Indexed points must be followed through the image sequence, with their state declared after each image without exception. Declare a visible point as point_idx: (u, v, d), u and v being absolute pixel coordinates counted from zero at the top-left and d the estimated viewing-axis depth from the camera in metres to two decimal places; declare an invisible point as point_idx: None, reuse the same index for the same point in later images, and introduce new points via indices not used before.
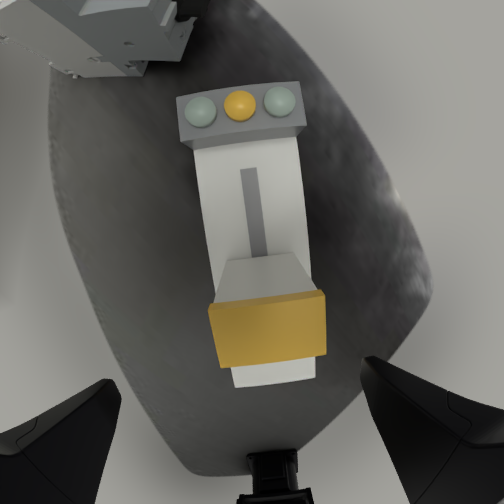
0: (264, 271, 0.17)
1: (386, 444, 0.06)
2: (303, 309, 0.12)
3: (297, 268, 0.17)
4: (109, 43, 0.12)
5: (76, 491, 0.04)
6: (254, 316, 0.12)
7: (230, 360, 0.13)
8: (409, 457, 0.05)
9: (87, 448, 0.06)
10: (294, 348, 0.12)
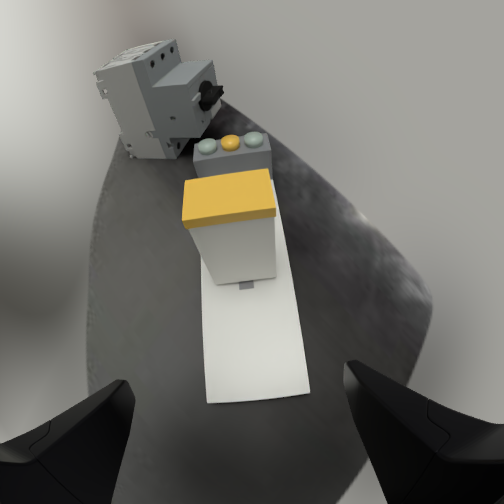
0: None
1: (367, 450, 0.06)
2: (252, 175, 0.16)
3: None
4: (161, 116, 0.28)
5: (91, 496, 0.04)
6: (216, 181, 0.16)
7: (191, 213, 0.15)
8: (388, 465, 0.05)
9: (102, 451, 0.06)
10: (246, 202, 0.15)
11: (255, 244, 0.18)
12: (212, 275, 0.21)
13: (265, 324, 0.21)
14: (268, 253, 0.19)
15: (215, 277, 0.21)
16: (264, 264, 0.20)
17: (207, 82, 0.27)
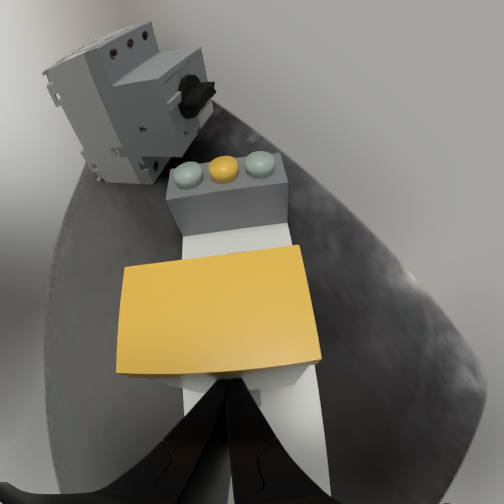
0: None
1: None
2: (265, 265, 0.07)
3: None
4: (128, 127, 0.20)
5: None
6: (186, 276, 0.07)
7: (134, 358, 0.06)
8: None
9: (218, 464, 0.06)
10: (252, 341, 0.06)
11: (268, 378, 0.09)
12: (196, 391, 0.12)
13: None
14: (288, 379, 0.10)
15: (201, 391, 0.12)
16: (278, 383, 0.11)
17: (192, 76, 0.19)
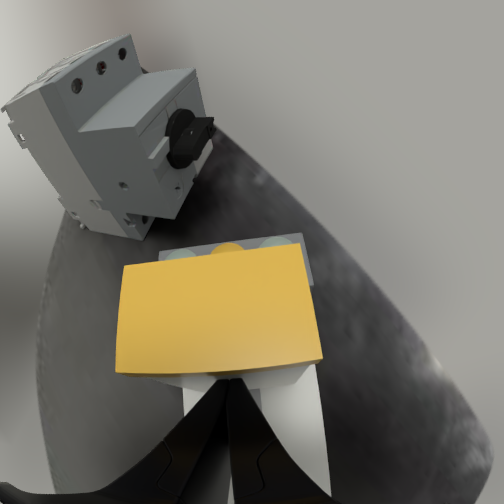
0: None
1: None
2: (266, 263, 0.07)
3: None
4: (106, 181, 0.16)
5: None
6: (185, 274, 0.07)
7: (133, 357, 0.06)
8: None
9: None
10: (253, 341, 0.06)
11: (268, 377, 0.09)
12: (196, 390, 0.12)
13: None
14: (288, 378, 0.10)
15: (201, 390, 0.12)
16: (278, 382, 0.11)
17: (183, 112, 0.15)
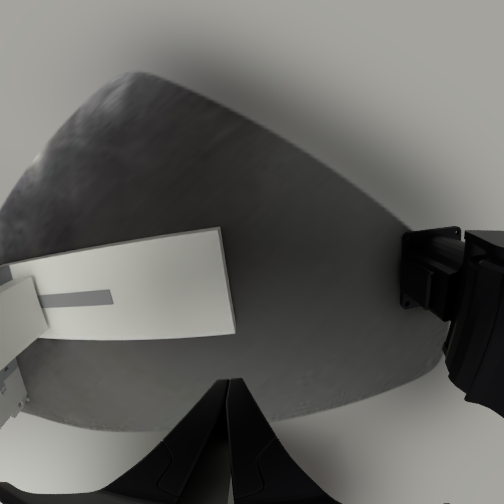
0: None
1: None
2: None
3: None
4: None
5: None
6: None
7: None
8: None
9: None
10: None
11: None
12: (38, 335, 0.18)
13: (144, 278, 0.19)
14: (4, 297, 0.14)
15: (39, 332, 0.18)
16: (17, 295, 0.16)
17: None
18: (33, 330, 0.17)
